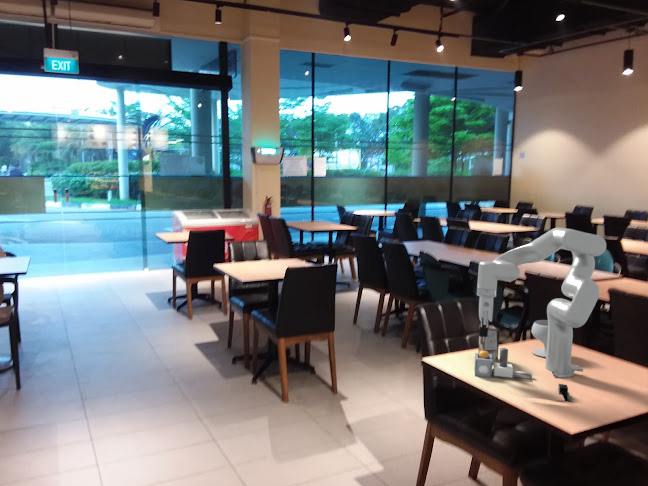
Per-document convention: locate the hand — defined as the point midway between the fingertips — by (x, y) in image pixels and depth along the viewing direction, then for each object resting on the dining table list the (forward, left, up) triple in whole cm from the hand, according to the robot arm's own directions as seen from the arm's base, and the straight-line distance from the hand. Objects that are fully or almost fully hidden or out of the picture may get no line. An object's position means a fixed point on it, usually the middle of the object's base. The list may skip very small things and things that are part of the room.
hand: (483, 336), depth 211 cm
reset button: (-1, 0, -10) cm, 10 cm away
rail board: (-8, 0, -17) cm, 19 cm away
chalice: (-30, -38, -17) cm, 52 cm away
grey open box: (-1, 0, -16) cm, 16 cm away
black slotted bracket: (-29, +12, -18) cm, 36 cm away
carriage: (-8, 0, -16) cm, 18 cm away
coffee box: (-3, -18, -17) cm, 25 cm away
